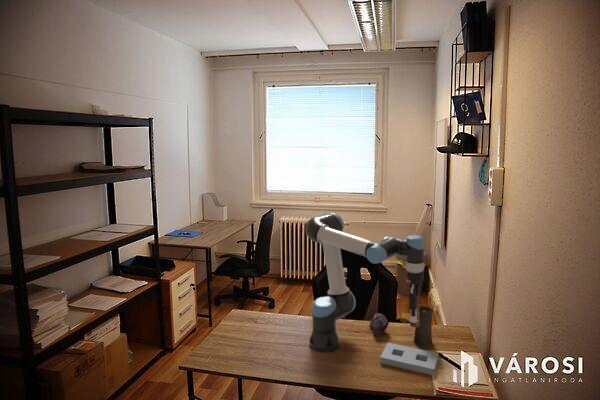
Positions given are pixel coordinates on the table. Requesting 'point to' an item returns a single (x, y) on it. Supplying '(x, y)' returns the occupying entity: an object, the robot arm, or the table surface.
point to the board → (409, 358)
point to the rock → (379, 323)
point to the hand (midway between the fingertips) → (414, 319)
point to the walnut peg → (417, 314)
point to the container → (424, 327)
